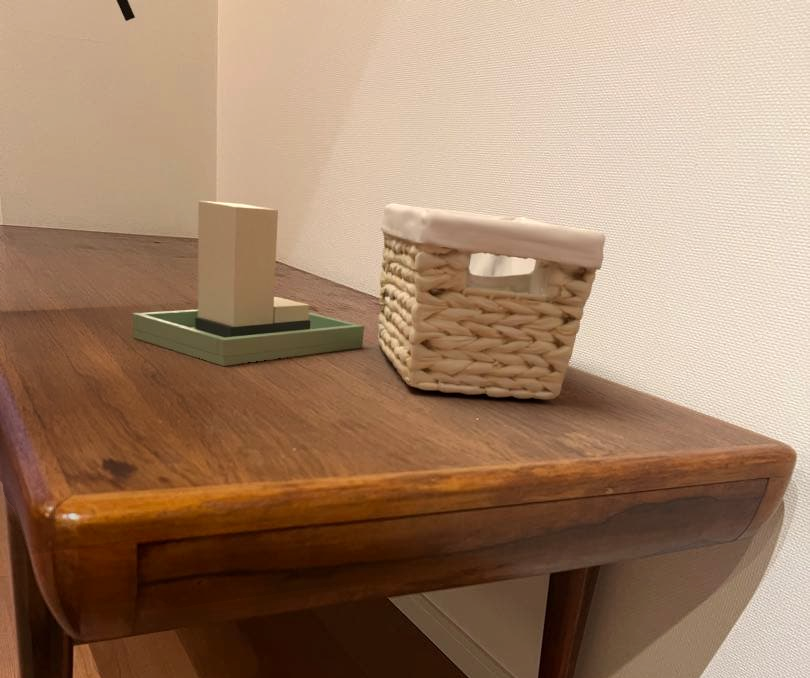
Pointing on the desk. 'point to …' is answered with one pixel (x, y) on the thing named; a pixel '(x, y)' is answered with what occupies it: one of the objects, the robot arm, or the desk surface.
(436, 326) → the basket
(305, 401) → the desk surface
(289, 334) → the tray
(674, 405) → the desk surface
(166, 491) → the desk surface
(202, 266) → the boot
